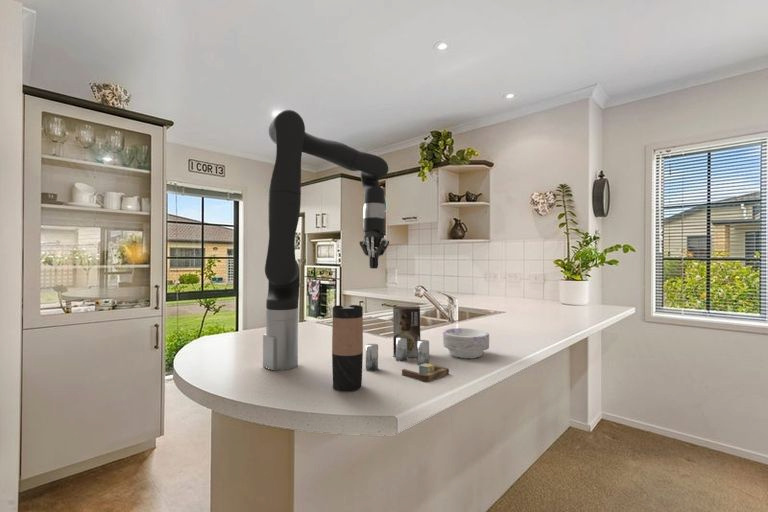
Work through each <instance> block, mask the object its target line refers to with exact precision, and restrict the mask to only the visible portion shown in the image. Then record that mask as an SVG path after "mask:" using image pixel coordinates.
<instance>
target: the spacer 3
mask: <svg viewBox="0 0 768 512" xmlns="http://www.w3.org/2000/svg"><path fill="white" fill-rule="evenodd" d="M416 358H417V361H416V362H417V364H416V365H418V366H419V365H422V364H423V363H427V364H430V341H429V340H426V339H420V340H418V341H417V357H416Z"/></svg>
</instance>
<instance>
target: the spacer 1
mask: <svg viewBox="0 0 768 512" xmlns="http://www.w3.org/2000/svg"><path fill="white" fill-rule="evenodd" d="M378 370H379V344H377V343H367V344H365V371H368V372H376V371H378Z"/></svg>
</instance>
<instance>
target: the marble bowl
mask: <svg viewBox="0 0 768 512" xmlns="http://www.w3.org/2000/svg"><path fill="white" fill-rule="evenodd" d="M442 345H443V347H444V348H446V349H448V351H449V354H450V355H451V356H452V357H455V358H458V357H460V358H459V359H467V358H471V359H477V357H478V358H480V357H481V356H482V355H483V353H484V351H487V350H489V348H490V333H488V332H487V331H485V330H482V329H476V328H468V327H467V328H466V327H460V328H459V327H457V328H456V327H455V328H447V329H444V330H443V332H442Z"/></svg>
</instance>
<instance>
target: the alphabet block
mask: <svg viewBox="0 0 768 512" xmlns="http://www.w3.org/2000/svg"><path fill="white" fill-rule="evenodd" d="M434 365H435V364H431V363H429V364H427V363H425V364H422V365H418V373H421V374H427V373H430V372H433V371H434Z"/></svg>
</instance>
